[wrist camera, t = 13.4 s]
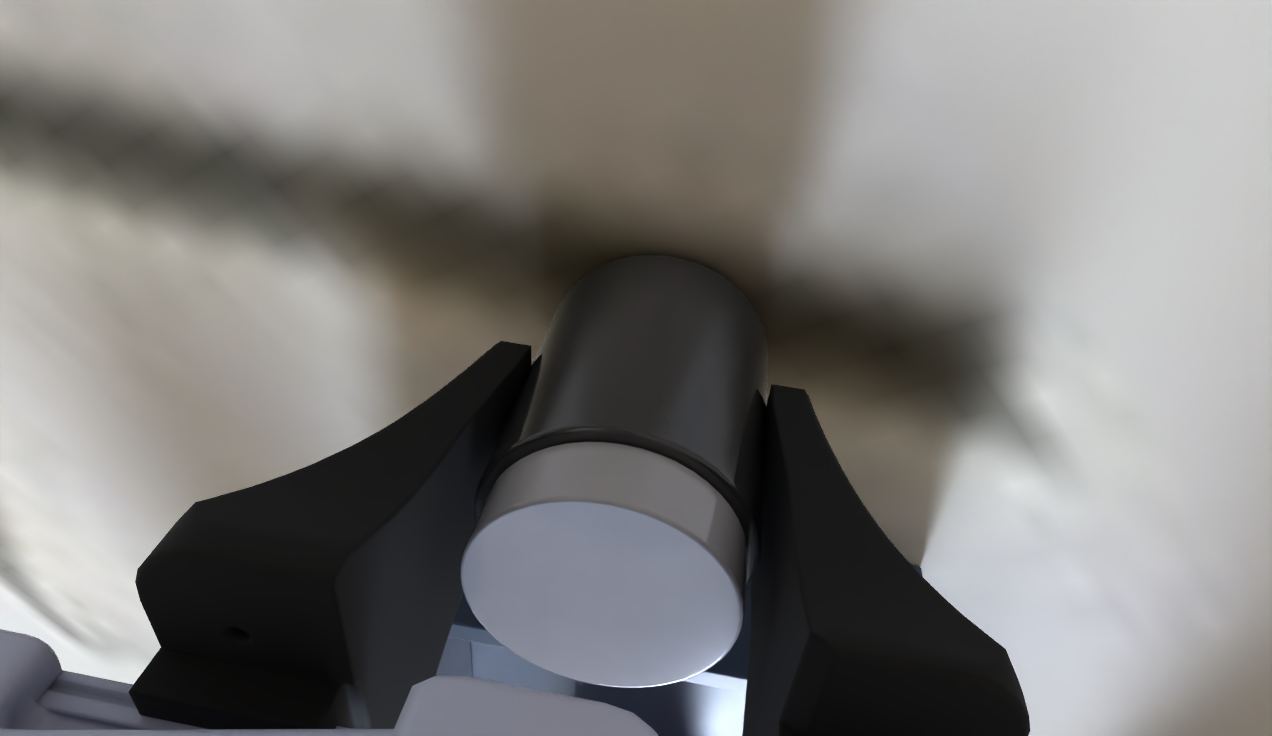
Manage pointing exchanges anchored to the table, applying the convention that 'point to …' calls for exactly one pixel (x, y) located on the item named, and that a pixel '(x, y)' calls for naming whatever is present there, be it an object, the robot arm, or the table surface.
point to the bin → (679, 712)
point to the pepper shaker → (628, 481)
